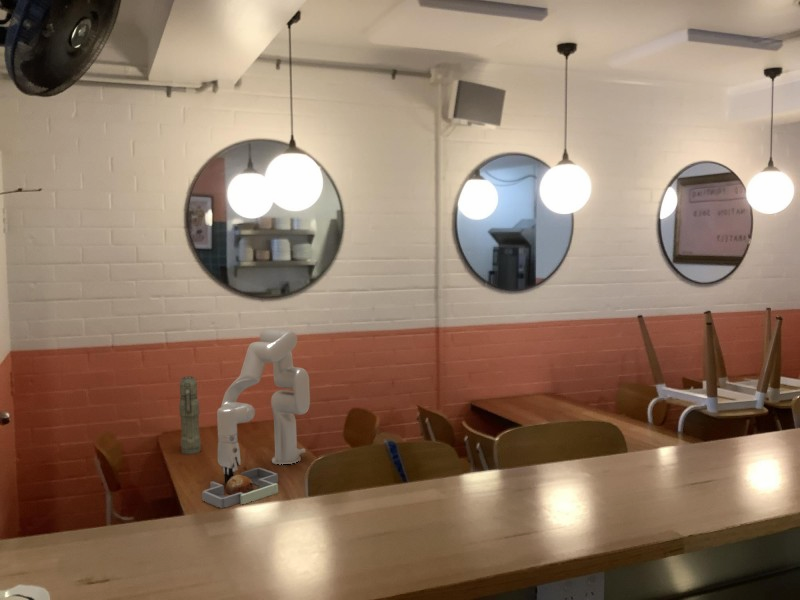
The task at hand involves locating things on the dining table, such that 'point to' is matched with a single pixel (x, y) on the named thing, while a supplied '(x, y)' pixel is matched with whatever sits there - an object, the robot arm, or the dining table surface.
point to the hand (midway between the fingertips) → (229, 483)
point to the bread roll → (239, 484)
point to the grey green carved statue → (189, 416)
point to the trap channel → (258, 477)
